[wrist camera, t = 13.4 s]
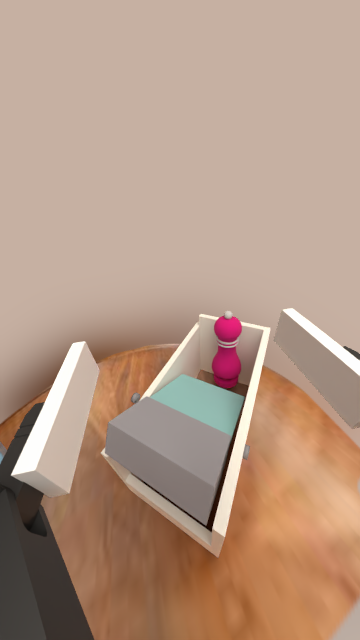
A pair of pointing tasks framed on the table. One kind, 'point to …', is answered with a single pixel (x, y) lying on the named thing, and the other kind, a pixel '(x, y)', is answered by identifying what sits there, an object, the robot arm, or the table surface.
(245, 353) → the frame
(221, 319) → the pepper mill
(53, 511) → the table surface
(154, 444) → the trapdoor
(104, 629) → the table surface
